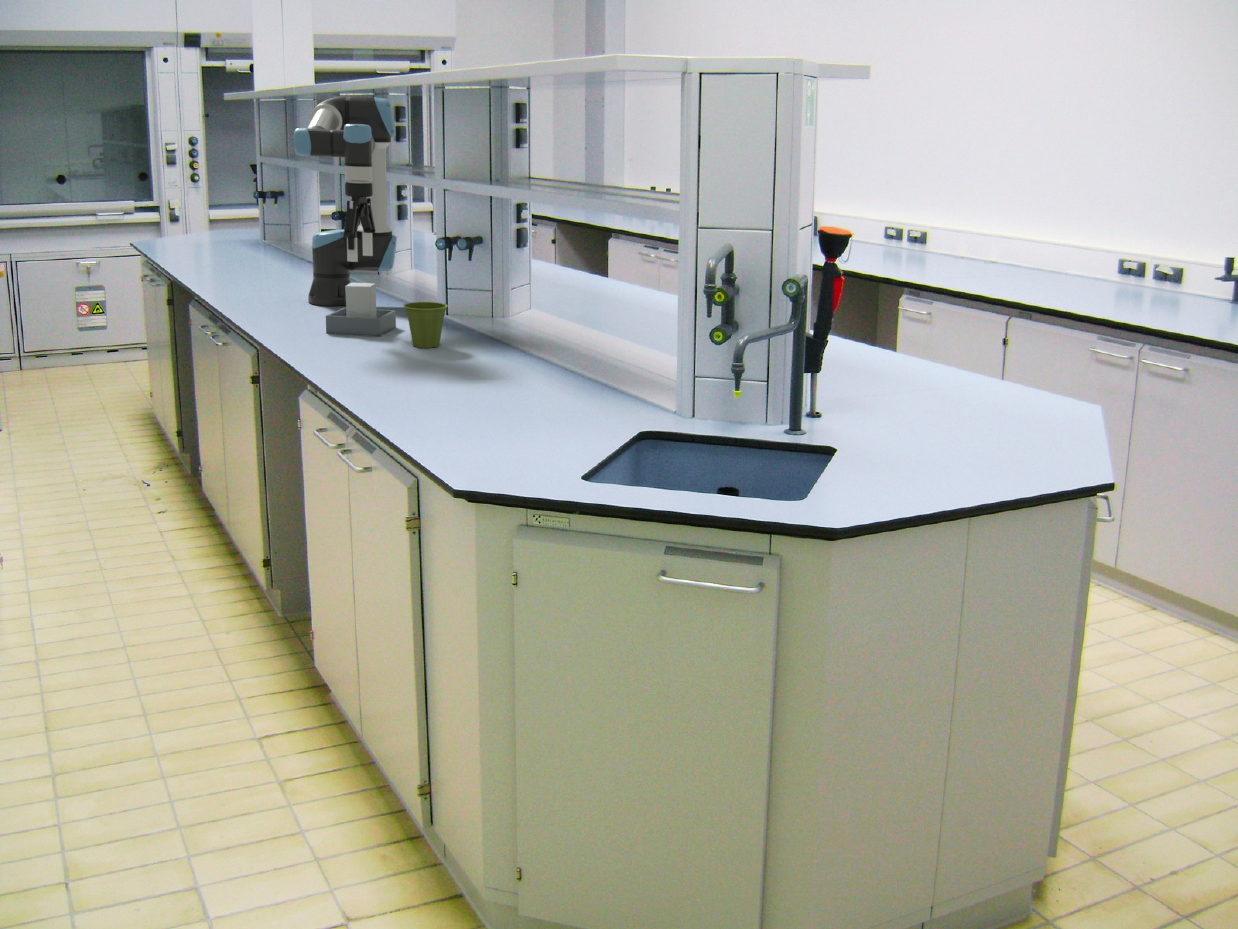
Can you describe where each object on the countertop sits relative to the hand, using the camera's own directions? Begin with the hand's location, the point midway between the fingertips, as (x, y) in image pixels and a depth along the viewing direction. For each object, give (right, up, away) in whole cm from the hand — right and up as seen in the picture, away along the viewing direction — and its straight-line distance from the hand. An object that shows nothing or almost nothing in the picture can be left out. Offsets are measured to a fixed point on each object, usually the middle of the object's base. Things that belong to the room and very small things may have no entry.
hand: (360, 258), depth 333 cm
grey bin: (-1, -20, +6) cm, 21 cm away
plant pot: (+21, -26, -13) cm, 36 cm away
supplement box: (-1, -19, +6) cm, 20 cm away
